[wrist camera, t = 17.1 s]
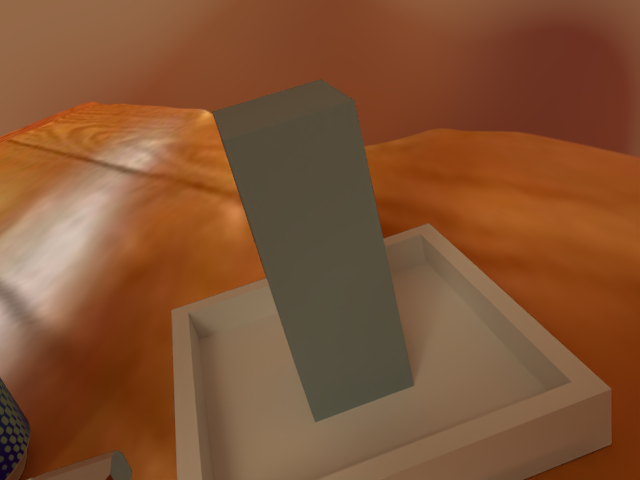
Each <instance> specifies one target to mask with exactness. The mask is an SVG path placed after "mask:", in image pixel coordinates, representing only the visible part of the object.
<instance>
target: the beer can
mask: <svg viewBox="0 0 640 480" xmlns="http://www.w3.org/2000/svg"><path fill="white" fill-rule="evenodd" d="M29 441H30V426H29V423H28V421H27V419H26V417H25V416H24V414H23V413H22V411H21V409H20V408H19V406H18V405H17V403H16V402H15V400H14V398H13V397H12V395H11V394H10V392H9V391H8V389H7V387H6V386H5V384H4V383H3V381H2V380H1V378H0V480H19V479H20V477H21V475H22V473H23V471H24V468H25V465H26V460H27V448H28V445H29Z"/></svg>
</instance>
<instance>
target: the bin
mask: <svg viewBox="0 0 640 480" xmlns="http://www.w3.org/2000/svg"><path fill="white" fill-rule="evenodd" d="M383 239H384V244H385V249H386V254H387V259H388V263H389V268H390V273H391V278H392V282H393V287H394V292H395V297H396V302H397V306H398V311H399V316H400V321H401V325H402V330H403V335H404V340H405V344H406V349H407V354H408V359H409V364H410V368H411V373H412V378H413V383H414V386H412V387H410V388H407V389H404V390H402V391H399V392H396V393H394V394H391V395H388V396H385V397H383V398H380V399H377V400H375V401H372V402H369V403H367V404H364V405H361V406H358V407H356V408H353V409H350V410H348V411H345V412H342V413H340V414H337V415H334V416H332V417H329V418H326V419H323V420H321V421H318V422H315V421H314V418H313V415H312V412H311V409H310V407H309V404H308V401H307V398H306V395H305V392H304V389H303V386H302V384H301V381H300V378H299V375H298V372H297V369H296V366H295V363H294V361H293V357H292V354H291V351H290V348H289V345H288V342H287V339H286V336H285V333H284V330H283V327H282V324H281V321H280V318H279V315H278V312H277V308H276V305H275V302H274V299H273V296H272V293H271V290H270V287H269V284H268V281H267V278H265V279H262V280H259V281H256V282H253V283H250V284H247V285H244V286H241V287H238V288H235V289H232V290H229V291H226V292H223V293H220V294H217V295H214V296H211V297H209V298H206V299H203V300H200V301H197V302H194V303H191V304H188V305H185V306H182V307H179V308H176V309H173V310H171V315H172V344H173V373H174V403H175V432H176V462H177V480H524V479H526V478H529V477H531V476H534V475H536V474H539V473H541V472H544V471H546V470H549V469H551V468H554V467H556V466H559V465H561V464H564V463H566V462H569V461H571V460H573V459H576V458H578V457H581V456H583V455H586V454H588V453H591V452H593V451H596V450H598V449H601V448H603V447H606V446H608V445H611V444H612V389H611V388H610V387H609V386H608V385H607V384H606V383H604V382H603V381H602V380H601V379H600V378H599V377H598V376H597V375H596V374H595V373H593V372H592V371H591V370H590V369H589V368H588V367H587V366H586V365H585V364H584V363H582V362H581V361H580V360H579V359H578V358H577V357H576V356H575V355H574V354H573V353H571V352H570V351H569V350H568V349H567V348H566V347H565V346H564V345H563V344H562V343H560V342H559V341H558V340H557V339H556V338H555V337H554V336H553V335H552V334H551V333H549V332H548V331H547V330H546V329H545V328H544V327H543V326H542V325H541V324H540V323H538V322H537V321H536V320H535V319H534V318H533V317H532V316H531V315H530V314H529V313H527V312H526V311H525V310H524V309H523V308H522V307H521V306H520V305H519V304H517V303H516V302H515V301H514V300H513V299H512V298H511V297H510V296H509V295H508V294H506V293H505V292H504V291H503V290H502V289H501V288H500V287H499V286H498V285H497V284H495V283H494V282H493V281H492V280H491V279H490V278H489V277H488V276H487V275H486V274H484V273H483V272H482V271H481V270H480V269H479V268H478V267H477V266H476V265H475V264H473V263H472V262H471V261H470V260H469V259H468V258H467V257H466V256H465V255H464V254H462V253H461V252H460V251H459V250H458V249H457V248H456V247H455V246H454V245H453V244H451V243H450V242H449V241H448V240H447V239H446V238H445V237H444V236H443V235H442V234H440V233H439V232H438V231H437V230H436V229H435V228H434V227H433V226H432V225H431V224H429V223H428V224H425V225H422V226H419V227H416V228H413V229H410V230H407V231H404V232H401V233H398V234H395V235H392V236H389V237H386V238H383Z"/></svg>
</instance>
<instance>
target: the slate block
mask: <svg viewBox="0 0 640 480" xmlns="http://www.w3.org/2000/svg"><path fill="white" fill-rule="evenodd" d="M212 113H213V116H214V119H215V122H216V125H217V128H218V131H219V134H220V137H221V140H222V143H223V146H224V149H225V152H226V155H227V158H228V162H229V165H230V168H231V171H232V174H233V177H234V180H235V183H236V186H237V189H238V192H239V195H240V198H241V201H242V204H243V207H244V211H245V214H246V217H247V220H248V223H249V226H250V229H251V232H252V235H253V238H254V241H255V244H256V247H257V250H258V253H259V256H260V260H261V263H262V266H263V269H264V272H265V275H266V278H267V281H268V284H269V287H270V290H271V293H272V296H273V299H274V302H275V305H276V308H277V312H278V315H279V318H280V321H281V324H282V327H283V330H284V333H285V336H286V339H287V342H288V345H289V348H290V351H291V354H292V357H293V361H294V363H295V366H296V369H297V372H298V375H299V378H300V381H301V384H302V386H303V389H304V392H305V395H306V398H307V401H308V404H309V407H310V409H311V412H312V415H313V418H314V421H315V422H318V421H321V420H323V419H326V418H329V417H332V416H334V415H337V414H340V413H342V412H345V411H348V410H350V409H353V408H356V407H358V406H361V405H364V404H367V403H369V402H372V401H375V400H377V399H380V398H383V397H385V396H388V395H391V394H394V393H396V392H399V391H402V390H404V389H407V388H410V387H412V386H414V383H413V378H412V373H411V368H410V364H409V359H408V354H407V349H406V344H405V340H404V335H403V330H402V325H401V321H400V316H399V311H398V306H397V302H396V297H395V292H394V287H393V282H392V278H391V273H390V268H389V263H388V259H387V254H386V249H385V244H384V239H383V235H382V230H381V225H380V220H379V216H378V211H377V206H376V201H375V196H374V192H373V187H372V182H371V177H370V173H369V168H368V163H367V158H366V153H365V149H364V144H363V139H362V135H361V130H360V125H359V120H358V115H357V110H356V106H355V101H354V100H353V99H352V98H350V97H348V96H347V95H345V94H343V93H342V92H340V91H339V90H337V89H335V88H334V87H332V86H331V85H329V84H327V83H326V82H324V81H323V80H318V81H314V82H310V83H307V84H304V85H300V86H297V87H294V88H291V89H287V90H284V91H280V92H277V93H274V94H270V95H267V96H263V97H260V98H257V99H254V100H250V101H247V102H243V103H240V104H237V105H233V106H230V107H227V108H223V109H220V110H217V111H213V112H212Z"/></svg>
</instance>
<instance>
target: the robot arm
mask: <svg viewBox="0 0 640 480" xmlns="http://www.w3.org/2000/svg"><path fill="white" fill-rule="evenodd" d="M27 480H132V469H131V468H130V466H129V464H128V462H127V461H126V459H125V457H124V455H123V453H122V452H119V451H116V450H115V451H112V452H109V453H105V454H102V455H99V456H96V457H93V458H90V459H87V460H84V461H81V462H78V463H74V464H71V465H68V466H65V467H62V468H59V469H56V470H53V471H50V472H47V473H43V474H40V475H37V476H36V477H34V478H30V479H27Z"/></svg>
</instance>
